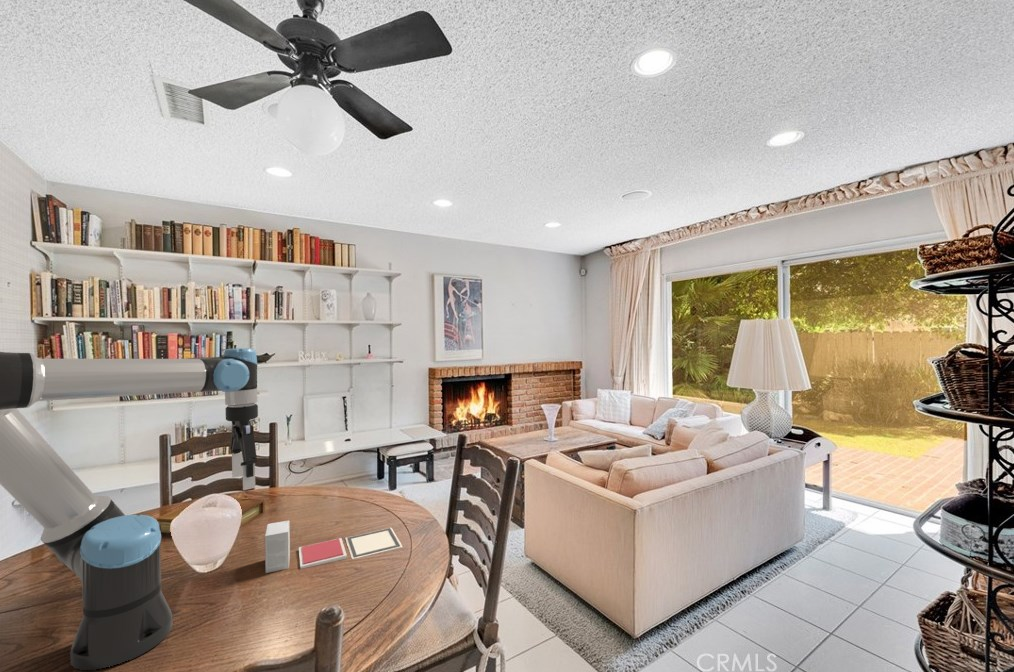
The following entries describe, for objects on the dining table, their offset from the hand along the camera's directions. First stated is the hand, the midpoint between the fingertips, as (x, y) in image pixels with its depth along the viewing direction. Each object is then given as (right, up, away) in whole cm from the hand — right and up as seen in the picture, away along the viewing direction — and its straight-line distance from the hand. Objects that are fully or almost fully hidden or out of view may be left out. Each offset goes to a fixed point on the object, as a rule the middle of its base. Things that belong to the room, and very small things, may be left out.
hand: (243, 482), depth 117 cm
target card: (+32, -22, +10) cm, 40 cm away
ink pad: (+20, -22, +4) cm, 30 cm away
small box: (+10, -23, -1) cm, 25 cm away
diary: (-25, -23, +25) cm, 42 cm away
